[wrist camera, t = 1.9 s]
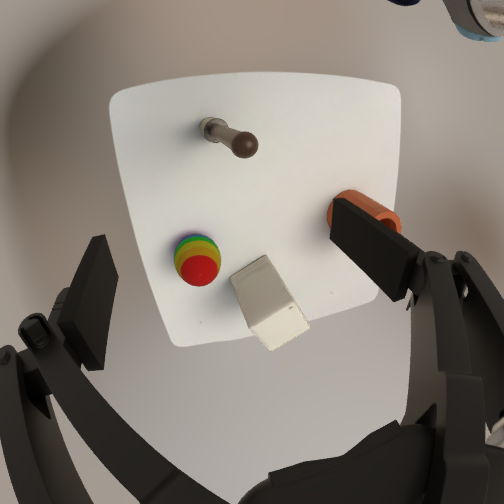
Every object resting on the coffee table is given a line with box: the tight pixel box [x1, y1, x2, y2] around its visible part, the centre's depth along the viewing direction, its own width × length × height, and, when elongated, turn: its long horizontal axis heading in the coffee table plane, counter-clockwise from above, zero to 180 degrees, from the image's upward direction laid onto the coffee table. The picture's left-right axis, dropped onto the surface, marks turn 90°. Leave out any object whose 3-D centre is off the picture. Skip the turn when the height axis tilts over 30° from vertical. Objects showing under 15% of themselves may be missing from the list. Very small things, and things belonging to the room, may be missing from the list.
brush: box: [200, 117, 258, 158], centre depth 31 cm, size 4×4×23 cm
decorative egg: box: [174, 234, 221, 286], centre depth 47 cm, size 8×8×10 cm
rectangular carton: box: [230, 255, 310, 351], centre depth 52 cm, size 9×9×15 cm
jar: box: [327, 190, 401, 234], centre depth 51 cm, size 10×10×12 cm
